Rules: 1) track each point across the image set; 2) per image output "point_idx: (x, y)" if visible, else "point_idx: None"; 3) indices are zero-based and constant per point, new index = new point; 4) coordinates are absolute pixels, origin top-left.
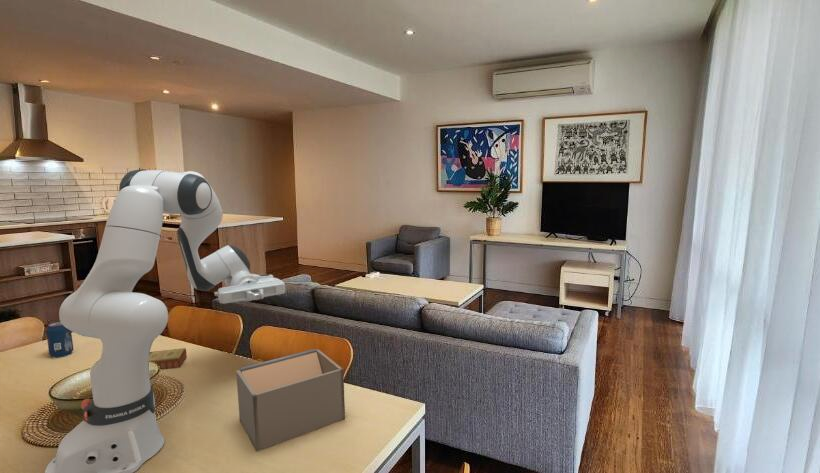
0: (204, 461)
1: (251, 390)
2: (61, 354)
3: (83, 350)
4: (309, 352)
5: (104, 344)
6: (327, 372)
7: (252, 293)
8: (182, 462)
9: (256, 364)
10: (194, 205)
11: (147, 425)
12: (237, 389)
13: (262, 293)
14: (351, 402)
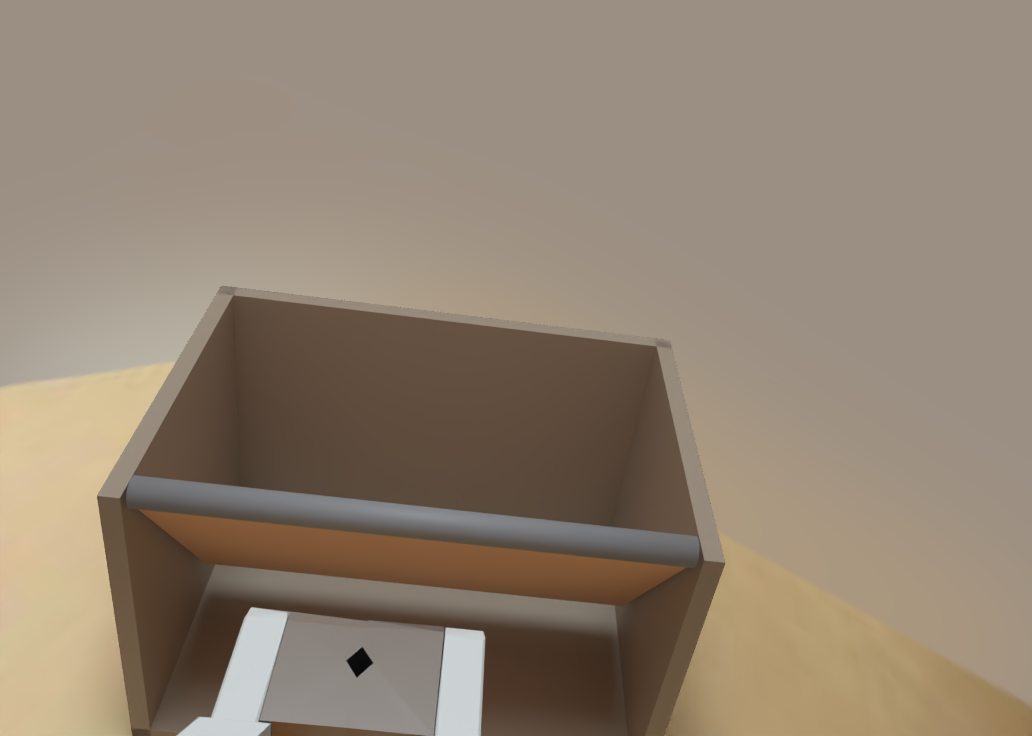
0: (805, 602)
1: (669, 370)
2: None
3: None
4: (195, 483)
5: None
6: (300, 303)
7: (476, 723)
8: (890, 645)
9: (593, 525)
10: None
11: None
12: (692, 654)
13: (267, 612)
14: (94, 568)
